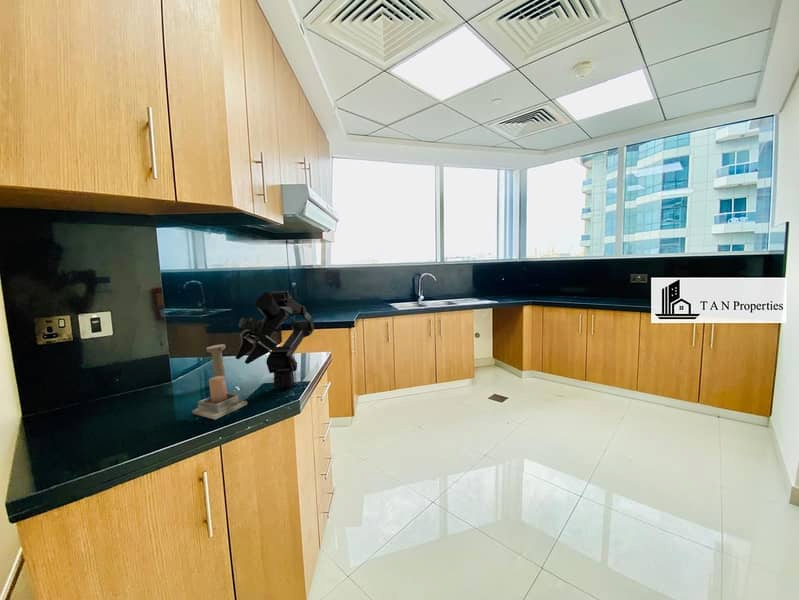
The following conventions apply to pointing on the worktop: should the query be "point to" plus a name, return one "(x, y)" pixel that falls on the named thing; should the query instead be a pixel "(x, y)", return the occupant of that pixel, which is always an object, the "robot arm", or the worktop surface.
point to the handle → (217, 359)
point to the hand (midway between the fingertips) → (241, 361)
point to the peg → (218, 389)
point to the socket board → (219, 406)
